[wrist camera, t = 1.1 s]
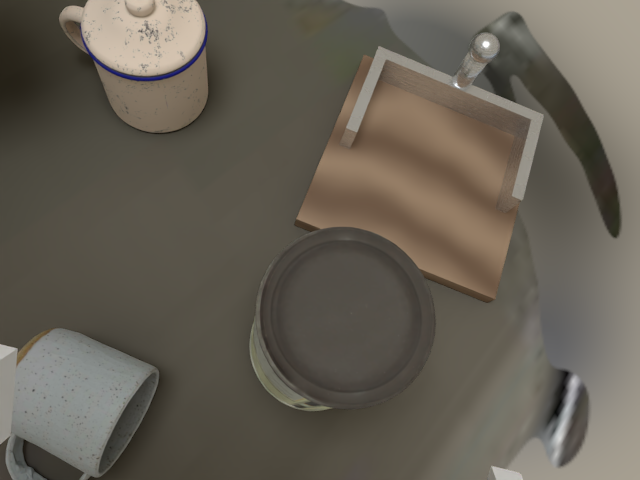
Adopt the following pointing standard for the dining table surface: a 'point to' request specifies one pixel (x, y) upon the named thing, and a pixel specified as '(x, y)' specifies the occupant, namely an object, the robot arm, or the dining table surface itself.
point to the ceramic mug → (76, 402)
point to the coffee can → (341, 321)
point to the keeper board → (418, 186)
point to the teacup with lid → (146, 57)
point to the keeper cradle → (460, 105)
